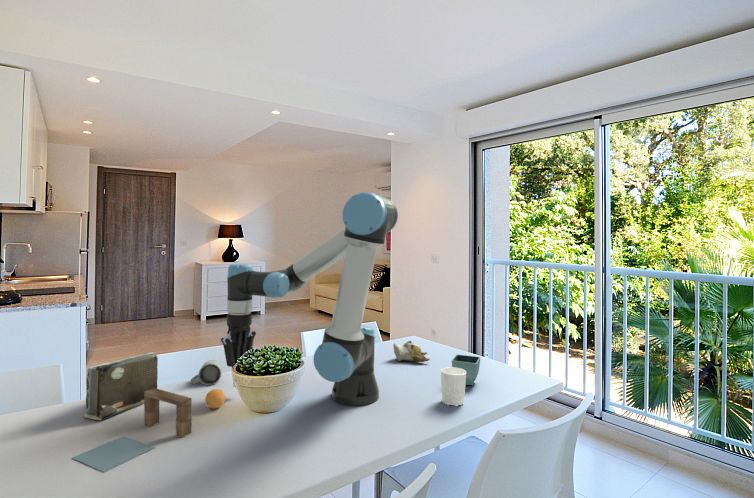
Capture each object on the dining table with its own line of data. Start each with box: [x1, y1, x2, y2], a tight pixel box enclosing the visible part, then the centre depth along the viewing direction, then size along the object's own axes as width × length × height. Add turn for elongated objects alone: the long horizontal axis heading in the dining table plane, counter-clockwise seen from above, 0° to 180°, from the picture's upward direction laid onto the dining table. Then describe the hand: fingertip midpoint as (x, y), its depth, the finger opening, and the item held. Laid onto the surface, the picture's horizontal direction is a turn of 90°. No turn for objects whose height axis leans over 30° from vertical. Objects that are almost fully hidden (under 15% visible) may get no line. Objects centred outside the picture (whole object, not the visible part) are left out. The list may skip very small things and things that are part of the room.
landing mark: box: [71, 435, 155, 473], centre depth 100 cm, size 12×12×1 cm
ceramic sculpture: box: [393, 340, 431, 363], centre depth 178 cm, size 11×9×15 cm
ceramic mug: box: [190, 359, 223, 386], centre depth 148 cm, size 10×8×7 cm
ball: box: [204, 388, 226, 410], centre depth 126 cm, size 6×6×6 cm
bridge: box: [143, 388, 193, 439], centre depth 112 cm, size 3×14×9 cm, turn 63°
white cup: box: [440, 366, 466, 406], centre depth 134 cm, size 8×8×10 cm
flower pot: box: [451, 354, 481, 386], centre depth 151 cm, size 9×9×9 cm
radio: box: [82, 351, 159, 421], centre depth 127 cm, size 23×9×15 cm, turn 157°
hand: (238, 386), depth 135 cm, fingers closed
